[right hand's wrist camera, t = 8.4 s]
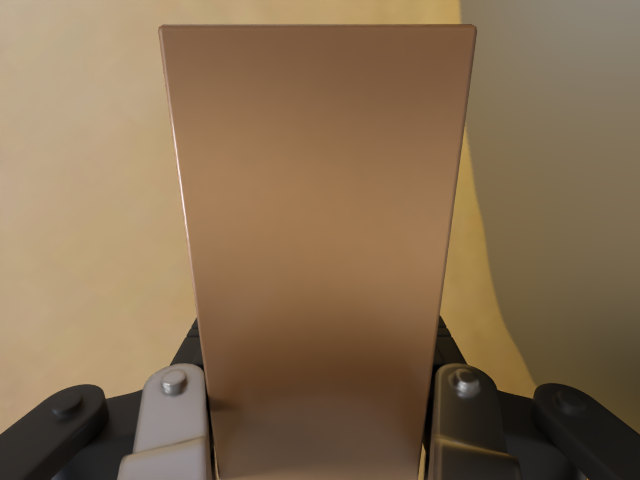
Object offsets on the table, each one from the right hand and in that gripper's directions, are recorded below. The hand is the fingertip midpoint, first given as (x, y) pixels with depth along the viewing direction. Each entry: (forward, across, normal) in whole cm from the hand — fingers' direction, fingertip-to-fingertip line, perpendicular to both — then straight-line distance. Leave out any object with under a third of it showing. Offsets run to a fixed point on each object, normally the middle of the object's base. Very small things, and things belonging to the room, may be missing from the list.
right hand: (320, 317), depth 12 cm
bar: (+4, 0, -31) cm, 32 cm away
